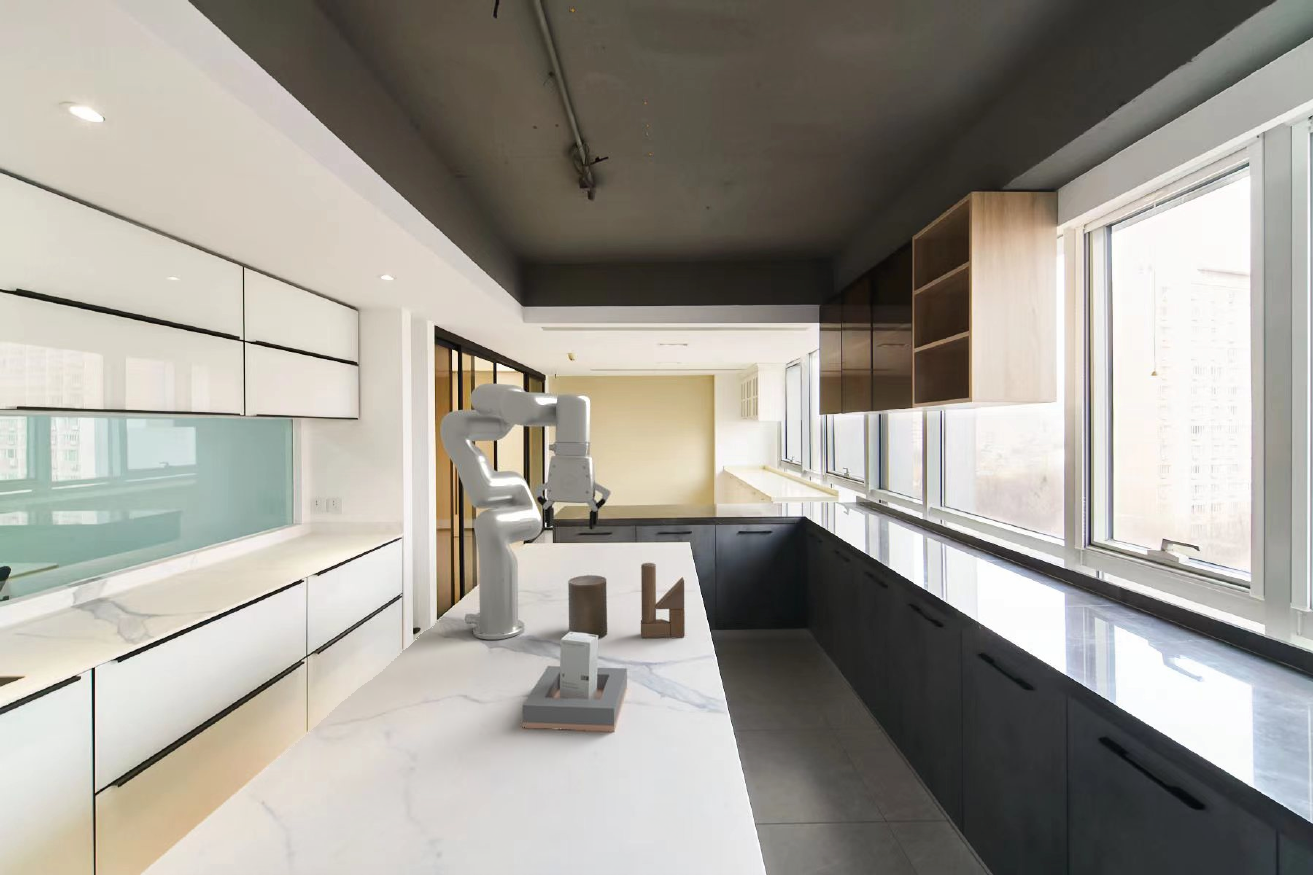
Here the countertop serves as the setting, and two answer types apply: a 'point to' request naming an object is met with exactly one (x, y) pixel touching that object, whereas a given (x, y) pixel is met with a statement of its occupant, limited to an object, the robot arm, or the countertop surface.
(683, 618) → the wooden block
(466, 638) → the countertop surface
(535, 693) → the gray square frame
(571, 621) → the pillar candle
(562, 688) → the skincare box
